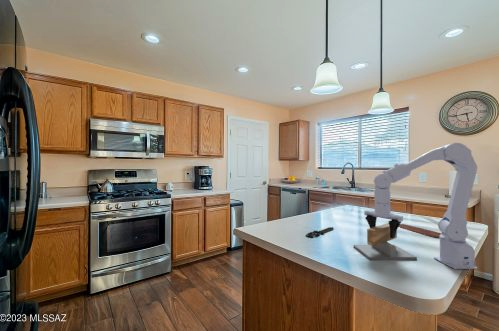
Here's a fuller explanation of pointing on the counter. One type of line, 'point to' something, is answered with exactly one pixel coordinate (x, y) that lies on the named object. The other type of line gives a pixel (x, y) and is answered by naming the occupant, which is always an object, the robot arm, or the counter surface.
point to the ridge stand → (384, 252)
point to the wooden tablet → (421, 230)
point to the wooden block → (379, 234)
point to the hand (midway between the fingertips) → (382, 235)
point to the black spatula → (319, 232)
